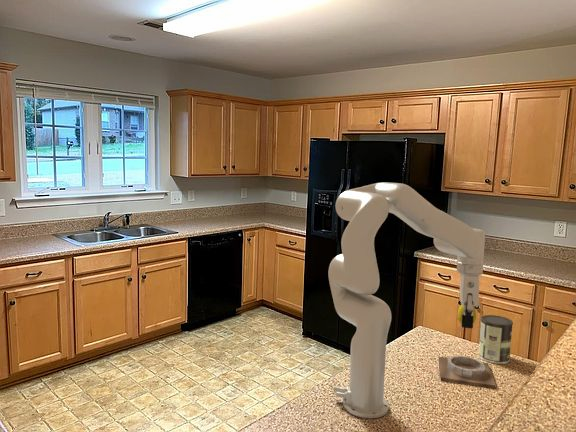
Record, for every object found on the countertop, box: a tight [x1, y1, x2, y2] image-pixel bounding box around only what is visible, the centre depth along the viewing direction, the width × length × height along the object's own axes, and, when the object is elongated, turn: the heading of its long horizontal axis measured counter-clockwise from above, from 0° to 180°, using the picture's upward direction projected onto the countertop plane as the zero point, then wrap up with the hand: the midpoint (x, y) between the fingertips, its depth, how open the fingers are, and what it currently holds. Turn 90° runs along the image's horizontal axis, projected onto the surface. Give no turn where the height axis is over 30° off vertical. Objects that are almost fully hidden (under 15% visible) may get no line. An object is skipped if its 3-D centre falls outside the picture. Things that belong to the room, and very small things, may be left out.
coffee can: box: [478, 314, 514, 365], centre depth 157 cm, size 10×10×14 cm
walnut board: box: [437, 356, 497, 390], centre depth 146 cm, size 16×16×1 cm
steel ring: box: [447, 354, 485, 378], centre depth 146 cm, size 11×11×2 cm
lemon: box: [457, 303, 477, 325], centre depth 140 cm, size 6×6×8 cm
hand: (466, 323), depth 140 cm, fingers closed on lemon, 5 cm apart
